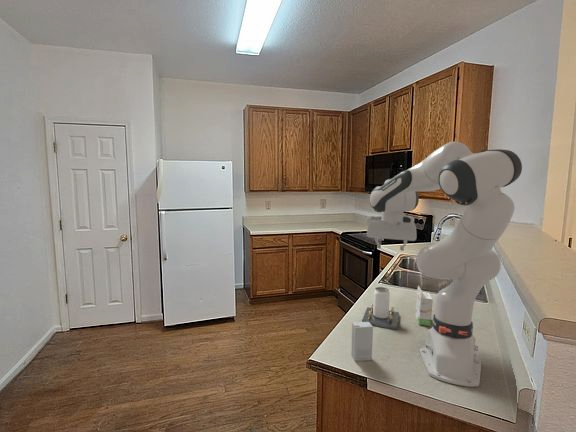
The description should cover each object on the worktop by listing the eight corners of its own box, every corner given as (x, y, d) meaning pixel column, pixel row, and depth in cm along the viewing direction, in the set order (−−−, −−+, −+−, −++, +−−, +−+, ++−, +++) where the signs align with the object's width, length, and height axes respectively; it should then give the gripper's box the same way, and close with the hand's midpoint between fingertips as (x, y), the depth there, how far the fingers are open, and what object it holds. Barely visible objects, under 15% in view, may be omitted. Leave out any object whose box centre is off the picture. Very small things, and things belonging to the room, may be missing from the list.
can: (390, 319, 137) (391, 292, 135) (375, 318, 137) (376, 291, 136) (386, 312, 143) (387, 286, 142) (371, 312, 143) (372, 286, 142)
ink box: (431, 326, 134) (434, 292, 132) (418, 325, 135) (421, 291, 133) (426, 317, 143) (429, 285, 141) (415, 316, 144) (417, 284, 142)
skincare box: (367, 354, 112) (369, 320, 111) (372, 361, 107) (374, 326, 106) (350, 354, 111) (351, 321, 110) (354, 362, 107) (355, 327, 105)
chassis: (396, 329, 131) (397, 319, 130) (361, 323, 136) (362, 313, 135) (398, 315, 144) (399, 305, 144) (367, 310, 150) (367, 300, 149)
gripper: (366, 216, 137) (364, 248, 138) (417, 219, 130) (415, 253, 131) (368, 215, 143) (366, 245, 144) (417, 217, 135) (415, 250, 137)
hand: (390, 249), depth 138 cm, fingers open, 8 cm apart
